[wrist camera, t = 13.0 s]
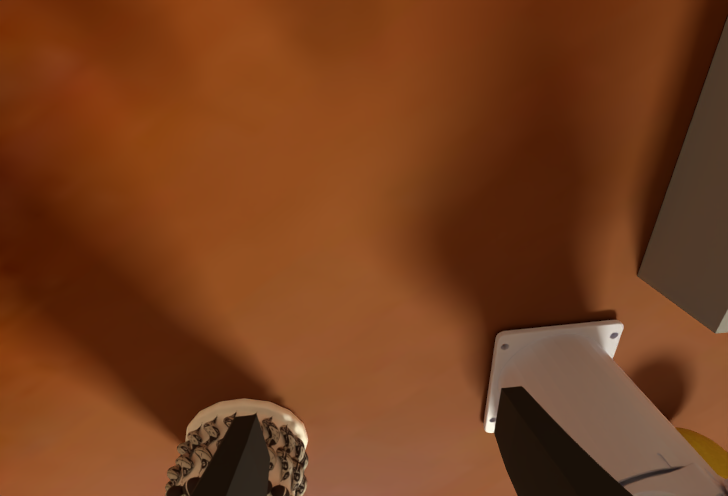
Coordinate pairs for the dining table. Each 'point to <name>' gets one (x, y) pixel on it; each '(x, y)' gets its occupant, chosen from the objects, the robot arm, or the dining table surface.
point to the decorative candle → (279, 433)
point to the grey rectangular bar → (697, 211)
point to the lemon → (708, 451)
